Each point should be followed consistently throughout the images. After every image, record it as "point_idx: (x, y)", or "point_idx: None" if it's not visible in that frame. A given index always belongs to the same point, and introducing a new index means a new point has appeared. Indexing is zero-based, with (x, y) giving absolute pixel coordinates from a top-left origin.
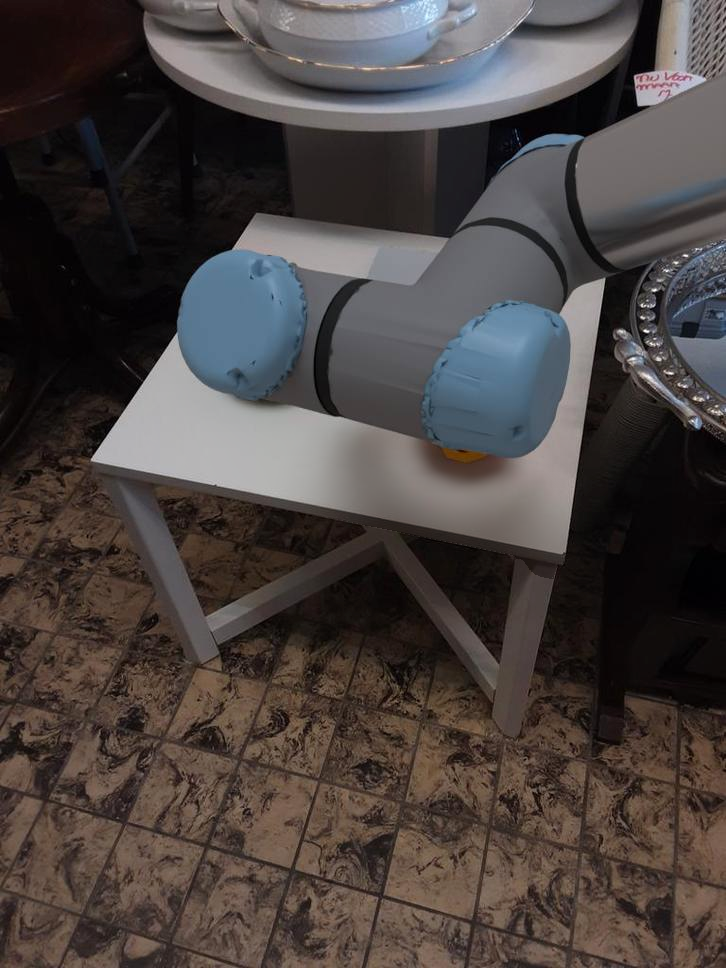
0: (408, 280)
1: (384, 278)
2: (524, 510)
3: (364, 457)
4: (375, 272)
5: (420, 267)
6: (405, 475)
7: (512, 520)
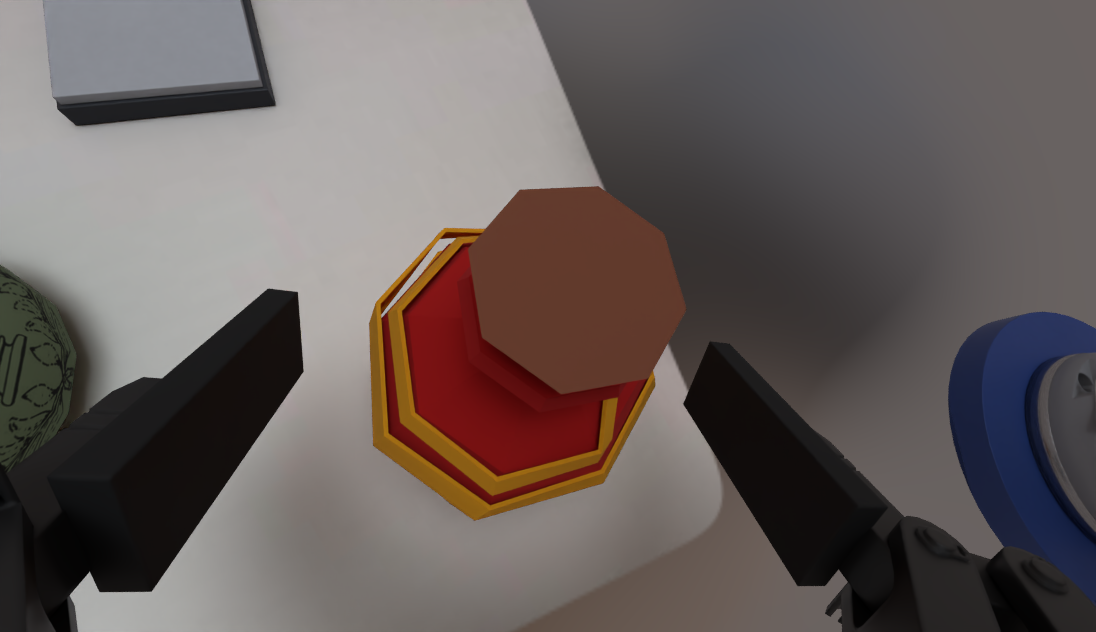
0: (169, 45)
1: (100, 53)
2: (660, 474)
3: (314, 550)
4: (65, 40)
5: (181, 5)
6: (428, 537)
7: (655, 507)
